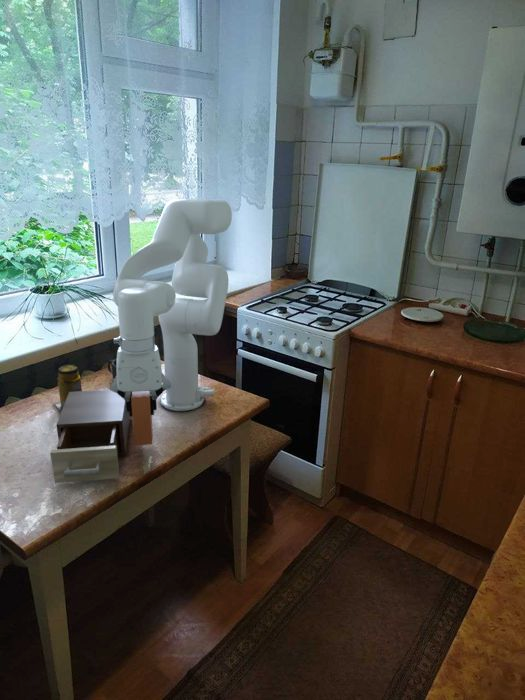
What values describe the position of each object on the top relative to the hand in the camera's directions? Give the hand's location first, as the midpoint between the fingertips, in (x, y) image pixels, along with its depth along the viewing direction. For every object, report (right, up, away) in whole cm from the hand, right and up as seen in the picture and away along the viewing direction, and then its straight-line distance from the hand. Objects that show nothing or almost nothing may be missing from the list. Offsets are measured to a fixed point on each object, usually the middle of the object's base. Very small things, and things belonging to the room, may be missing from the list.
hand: (142, 412), depth 119 cm
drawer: (-11, -12, -5) cm, 17 cm away
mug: (-15, +5, +39) cm, 42 cm away
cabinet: (-13, -8, +7) cm, 17 cm away
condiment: (-25, -2, +22) cm, 34 cm away
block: (0, -7, +3) cm, 8 cm away
